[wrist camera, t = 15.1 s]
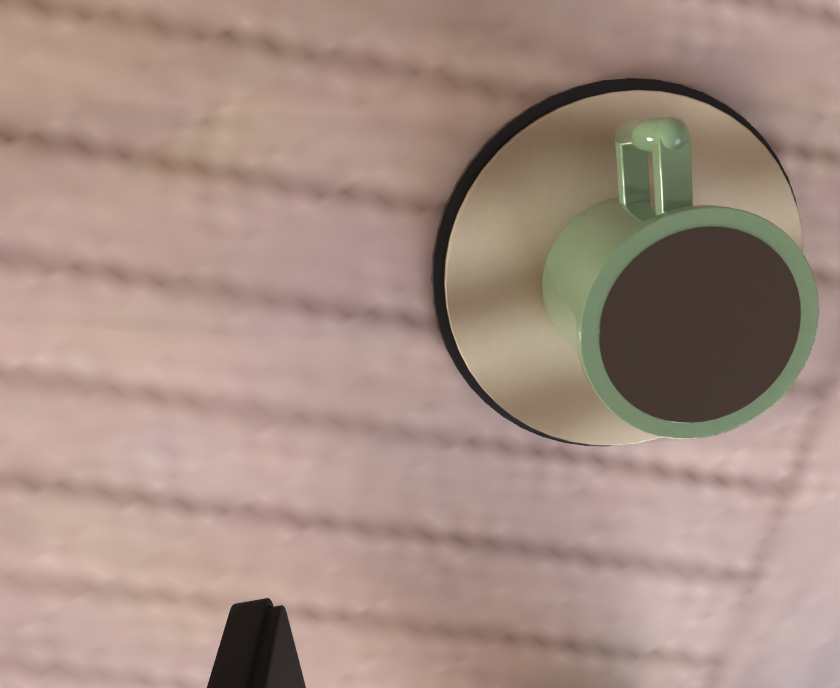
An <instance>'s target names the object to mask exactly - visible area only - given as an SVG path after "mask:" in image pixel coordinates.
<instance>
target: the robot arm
mask: <svg viewBox="0 0 840 688" xmlns="http://www.w3.org/2000/svg"><path fill="white" fill-rule="evenodd" d="M207 688H306V686H305V682H304V678H303V675H302V671H301V667H300V663H299V659H298V655H297V651H296V647H295V643H294V640H293V636H292V632H291V628H290V624H289V620H288V616H287V613H286V609H285V607H284V606H283V605H281V606H275V607H274V606H273V603H272V601H271V600H270V599H269V598H265V599H260V600H254V601H248V602H243V603H237V604H234V605H232V607H231V609H230V612H229V616H228V619H227V622H226V626H225V629H224V632H223V636H222V639H221V642H220V646H219V649H218V652H217V656H216V659H215V662H214V666H213V669H212V672H211V676H210V679H209V682H208V686H207Z"/></svg>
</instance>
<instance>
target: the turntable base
mask: <svg viewBox="0 0 840 688" xmlns="http://www.w3.org/2000/svg"><path fill="white" fill-rule="evenodd" d="M632 90H645V91H663V92H668V93H673V94H678V95H683V96H687V97H690V98H693V99H695V100H698V101H701V102H704V103H707V104H709V105H711V106H713V107H715V108H717V109H719V110H720V111H722V112H724V113H726V114H728V115H730V116H731V117H732V118H734V119H735V120H737V121H738V122H739V123H741V124H742V125H743V126H745V127H746V128H747V129H749V130H750V131H751V132H752V133H753V134H754V135H755V136H756V137H757V139H758V140H759V141H760V142H761V143H762V144H763V145H764V146H765V147H766V148H767V150H768V151H769V152H770V154H771V155H772V156H773V158H774V159H775V160H776V162H777V163H778V165H779V166H780V168H781V170H782V172H783V174H784V176H785V178H786V180H787V182H788V184H789V185H790V182H789V180H788V177H787V175H786V173H785V171H784V169H783V167H782V166H781V164H780V162H779V160H778V158H777V156H776V155H775V153H774V152H773V150H772V149H771V148H770V146H769V145H768V144H767V142H766V141H765V139H764V138H763V137H762V136H761V135H760V134H759V133H758V132H757V131H756V130H755V129H754V128H753V127H752V126H751V125H750V124H749V122H748V121H747V120H746V119H744V118H743V117H742V116H740V115H739V114H738V113H736V112H735V111H734V110H732V109H731V108H730V107H728V106H727V105H726V104H724V103H722V102H720V101H718V100H716V99H714V98H712V97H711V96H709V95H707V94H705V93H703V92H700V91H697V90H694V89H691V88H689V87H686V86H683V85H680V84H675V83H670V82H665V81H660V80H655V79H636V78H626V79H615V80H603V81H599V82H595V83H590V84H586V85H582V86H577V87H574V88H571V89H568V90H566V91H563V92H560V93H558V94H555V95H552V96H550V97H548V98H546V99H544V100H542V101H541V102H539V103H537V104H535V105H533V106H531V107H529V108H527V109H526V110H524V111H523V112H522V113H520V114H519V115H517V116H516V117H515V118H513V119H512V120H511V121H509V122H508V123H506V124H505V125H504V126H503V127H502V128H501V129H500V130H499V131H497V132H496V133H495V134H494V135H493V136H492V137H491V138H490V139H489V140H488V141H487V142H486V143H485V144H484V145H483V146H482V148H481V149H480V150H479V151H478V152H477V154H476V155H475V156H474V157H473V158H472V160H471V161H470V162H469V164H468V165H467V167H466V168H465V170H464V171H463V173H462V174H461V176H460V178H459V179H458V181H457V182H456V184H455V186H454V188H453V190H452V192H451V195H450V197H449V199H448V201H447V203H446V205H445V207H444V210H443V214H442V217H441V220H440V223H439V226H438V229H437V233H436V239H435V244H434V250H433V255H432V275H431V281H432V293H433V303H434V308H435V313H436V317H437V322H438V326H439V329H440V332H441V335H442V337H443V340H444V343H445V346H446V348H447V350H448V352H449V354H450V356H451V358H452V360H453V362H454V364H455V365H456V367H457V369H458V371H459V372H460V373H461V375H462V376H463V377H464V379H465V380H466V382H467V383H468V384H469V386H470V387H471V388H472V389H473V390H474V391H475V392H476V393H477V394H478V395H479V396H480V398H481V399H482V400H483V401H484V402H485V403H486V404H488V405H489V406H490V407H491V408H493V409H494V410H495V411H496V412H498V413H499V414H500V415H501V416H503V417H504V418H506V419H508V420H509V421H511V422H513V423H514V424H516V425H518V426H520V427H521V428H523V429H526V430H528V431H530V432H533V433H535V434H537V435H540V436H542V437H546V438H549V439H553V440H556V441H560V442H564V443H570V444H577V445H584V446H616V445H590V444H583V443H577V442H571V441H567V440H564V439H560V438H557V437H553V436H550V435H548V434H545V433H543V432H541V431H538V430H536V429H534V428H531V427H530V426H528V425H526V424H525V423H523V422H521V421H520V420H518V419H516V418H515V417H513V416H512V415H511V414H509V413H508V412H507V411H505V410H504V409H503V408H502V407H500V406H499V405H498V404H497V403H496V402H495V401H494V400H493V399H492V398H491V397H490V396H489V395H488V394H487V393H486V392H485V391H484V390H483V389H482V387H481V386H480V385H479V383H478V382H477V380H476V379H475V378H474V376H473V375H472V373H471V372H470V371H469V369H468V367H467V365H466V363H465V361H464V359H463V357H462V356H461V354H460V352H459V349H458V347H457V344H456V341H455V338H454V335H453V333H452V330H451V326H450V322H449V317H448V312H447V308H446V299H445V286H444V278H445V261H446V255H447V249H448V244H449V239H450V235H451V232H452V229H453V226H454V223H455V220H456V217H457V214H458V211H459V209H460V207H461V205H462V203H463V201H464V199H465V197H466V195H467V193H468V191H469V189H470V188H471V186H472V185H473V183H474V181H475V180H476V178H477V177H478V175H479V174H480V172H481V171H482V169H483V168H484V167H485V166H486V165H487V163H488V162H489V161H490V160H491V159H492V157H493V156H494V155H495V154H496V153H497V152H498V151H499V150H500V149H501V148H502V147H503V146H504V145H505V144H506V143H507V142H508V141H509V140H510V139H512V138H513V137H514V136H515V135H516V134H517V133H519V132H520V131H521V130H523V129H524V128H526V127H527V126H528V125H530V124H531V123H533V122H534V121H535V120H537V119H539V118H541V117H542V116H544V115H546V114H548V113H550V112H552V111H554V110H556V109H558V108H559V107H562V106H565V105H567V104H570V103H573V102H575V101H578V100H581V99H584V98H588V97H592V96H597V95H601V94H606V93H611V92H621V91H632ZM790 188H791V185H790ZM791 191H792V188H791ZM792 194H793V191H792ZM793 197H794V194H793ZM794 200H795V197H794ZM795 202H796V200H795ZM796 205H797V204H796ZM625 445H626V444H625Z"/></svg>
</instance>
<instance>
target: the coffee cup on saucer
mask: <svg viewBox="0 0 840 688" xmlns="http://www.w3.org/2000/svg"><path fill="white" fill-rule="evenodd" d="M444 286H445V299H446V308H447V312H448V317H449V322H450V326H451V330H452V333H453V335H454V338H455V341H456V344H457V347H458V349H459V352H460V354H461V356H462V357H463V359H464V361H465V363H466V365H467V367H468V369H469V371H470V372H471V373H472V375H473V376H474V378H475V379H476V380H477V382H478V383H479V385H480V386H481V387H482V389H483V390H484V391H485V392H486V393H487V394H488V395H489V396H490V397H491V398H492V399H493V400H494V401H495V402H496V403H497V404H498V405H499V406H500V407H502V408H503V409H504V410H505V411H507V412H508V413H509V414H511V415H512V416H513V417H515V418H516V419H518V420H520V421H521V422H523V423H525V424H526V425H528V426H530V427H531V428H534V429H536V430H538V431H541V432H543V433H545V434H548V435H550V436H553V437H557V438H560V439H564V440H567V441H571V442H577V443H583V444H590V445H625V444H635V443H640V442H645V441H650V440H654V439H659V438H661V437H667V438H673V439H694V438H704V437H709V436H714V435H718V434H721V433H724V432H727V431H730V430H733V429H735V428H737V427H739V426H742V425H744V424H746V423H748V422H749V421H751V420H753V419H754V418H756V417H758V416H759V415H761V414H762V413H763V412H765V411H766V410H767V409H768V408H770V407H771V406H772V405H773V404H774V403H775V402H776V401H777V400H779V399H780V398H781V397H782V396H783V395H784V394H785V392H786V391H787V390H788V389H789V387H790V386H791V385H792V384H793V383H794V381H795V380H796V378H797V376H798V375H799V373H800V372H801V370H802V369H803V367H804V365H805V363H806V361H807V358H808V356H809V354H810V351H811V348H812V346H813V343H814V340H815V335H816V330H817V325H818V313H819V306H818V293H817V288H816V283H815V279H814V276H813V273H812V271H811V268H810V265H809V264H808V262H807V260H806V258H805V256H804V254H803V243H802V229H801V224H800V219H799V214H798V209H797V205H796V202H795V200H794V197H793V194H792V191H791V188H790V185H789V184H788V182H787V180H786V178H785V176H784V174H783V172H782V170H781V168H780V166H779V165H778V163H777V162H776V160H775V159H774V158H773V156H772V155H771V154H770V152H769V151H768V150H767V148H766V147H765V146H764V145H763V144H762V143H761V142H760V141H759V140H758V139H757V137H756V136H755V135H754V134H753V133H752V132H751V131H750V130H749V129H747V128H746V127H745V126H743V125H742V124H741V123H739V122H738V121H737V120H735V119H734V118H732V117H731V116H730V115H728V114H726V113H724V112H722V111H720V110H719V109H717V108H715V107H713V106H711V105H709V104H707V103H704V102H701V101H698V100H695V99H693V98H690V97H687V96H683V95H678V94H673V93H668V92H663V91H645V90H632V91H621V92H611V93H606V94H601V95H597V96H592V97H588V98H584V99H581V100H578V101H575V102H573V103H570V104H567V105H565V106H562V107H559V108H558V109H556V110H554V111H552V112H550V113H548V114H546V115H544V116H542V117H541V118H539V119H537V120H535V121H534V122H533V123H531V124H530V125H528V126H527V127H526V128H524V129H523V130H521V131H520V132H519V133H517V134H516V135H515V136H514V137H513V138H512V139H510V140H509V141H508V142H507V143H506V144H505V145H504V146H503V147H502V148H501V149H500V150H499V151H498V152H497V153H496V154H495V155H494V156H493V157H492V159H491V160H490V161H489V162H488V163H487V165H486V166H485V167H484V168H483V169H482V171H481V172H480V174H479V175H478V177H477V178H476V180H475V181H474V183H473V185H472V186H471V188H470V189H469V191H468V193H467V195H466V197H465V199H464V201H463V203H462V205H461V207H460V209H459V211H458V214H457V217H456V220H455V223H454V226H453V229H452V232H451V235H450V239H449V244H448V249H447V255H446V261H445V278H444Z"/></svg>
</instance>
